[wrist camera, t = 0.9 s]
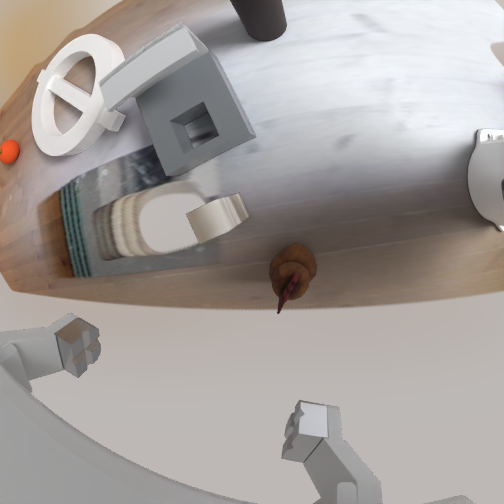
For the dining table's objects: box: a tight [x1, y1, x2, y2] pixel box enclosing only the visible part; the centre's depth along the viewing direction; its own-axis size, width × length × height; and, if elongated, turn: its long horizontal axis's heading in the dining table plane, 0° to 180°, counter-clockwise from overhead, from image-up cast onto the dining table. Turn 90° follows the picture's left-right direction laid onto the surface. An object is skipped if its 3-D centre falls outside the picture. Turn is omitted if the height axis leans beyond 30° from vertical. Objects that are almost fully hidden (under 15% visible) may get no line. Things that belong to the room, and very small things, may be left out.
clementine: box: [0, 140, 19, 164], centre depth 47 cm, size 8×7×7 cm
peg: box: [186, 193, 250, 244], centre depth 38 cm, size 4×4×12 cm
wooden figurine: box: [269, 243, 317, 314], centre depth 36 cm, size 7×6×15 cm
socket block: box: [99, 22, 256, 176], centre depth 33 cm, size 14×16×14 cm
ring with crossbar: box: [32, 34, 126, 156], centre depth 41 cm, size 28×28×5 cm
